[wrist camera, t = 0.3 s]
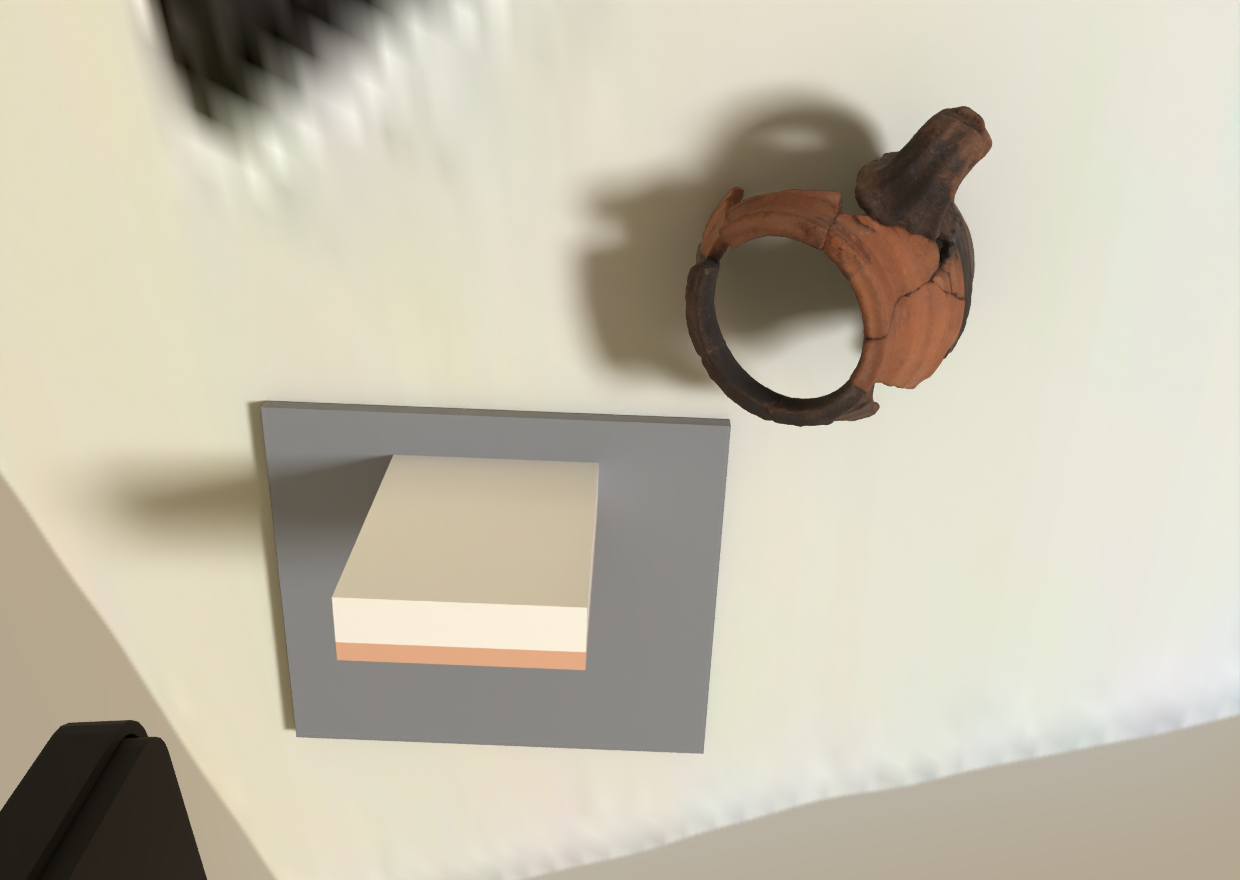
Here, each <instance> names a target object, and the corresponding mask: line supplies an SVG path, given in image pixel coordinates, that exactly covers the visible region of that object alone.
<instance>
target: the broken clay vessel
mask: <svg viewBox="0 0 1240 880" xmlns="http://www.w3.org/2000/svg"><path fill="white" fill-rule="evenodd" d="M991 147H992V140H991V137H990V135H989V133H988V132H987V130H986V128H985V123H984V120H983V118H982V117H981V116H980V115H979V114H977V113H976V112H974V111H973V110H972V109H970V108H969V107H966V106H961V107H957V108H951V109H949V108H948V109H944V110H941V111H940V112H938V113H937V114H936V115H934V116H933V117H931V118H930V119H929V120H928V121H927V122H926V123H925V124H924V125H923V126H922V127H921V128H920V129H919V130H918V132H917V133H916V134H915V135H914V136H913V137H912V139H911V140H910V141H909V142H908V143H907V144H906V145H905V146H904V147H903V148H902V149H901V150H900V151H899V152H890V153H885V154H884V155H883V157H882V158H881V159H880V161H878V160H874V161H872V162H871V163H870V164H869V165H866V166H863V167H862V168H861V169H860V171H859V173H858V175H857V184H856V187H855V197H856V200H857V202H858V204H859V206H860V208H861V209H862V210H864V211H865V212H866V215H860V214H858V215H850V214H845V213H842V212H841V208H842V207H841V204H842V194H841V193H838V192H834V191H821V190H807V191H805V190H795V189H792V190H786V191H781V192H774V193H770V194H762V195H756V196H754V197H751V198H748V199H746V200H744V201H742V202H740V201H741V200H742V197H743V193H744V190H743V189H742V188H740V187H735V188H733V189H732V190H730V191H729V192H728V194H727V195H726V196H725V198H724V199H723V200H722V202H721V203H720V204H719V206H718V207H717V209H716V210H715V212H714V213H713V215H712V216H711V218H710V220H709V222H708V223H707V225H706V228H705V230H704V233H703V238H702V242H701V243H700V244H699V246H698V250H697V257H696V265H695V266H693V267H692V268H691V269H690V271H689V274H688V279H687V286H686V295H685V298H686V319H687V326H688V330H689V335H690V337H691V340H692V342H693V345H694V347H695V350H696V352H697V354H698V355H699V356H701V359H702V364H703V366H704V367H705V369H706V370H707V372H708V374H709V376H710V378H711V379H712V380H713V381H714V382H715V383H716V384H717V385H718V386H719V387H720V388H721V390H722V391H723V392H724V393H725V394H726V395H727V397H729V398H730V399H731V400H732V401H734V402H735V403H737V404H738V405H739V406H741V407H742V408H743V409H745V410H746V411H748V412H750V413H751V414H754V415H757V416H758V417H760V418H762V419H764V420H769V421H770V420H773V421H774V422H776V423H780V424H787V425H795V426H799V427H802V426H816V425H829V424H831V423H832V422H834V421H845V420H847V421H856V420H859V419H863V418H867V417H870V416H872V415H874V414H875V413H876V412H877V411H878V409H879V407H880V406H879V404H878V403H877V402H873V389H874V384H875V383H877V382H878V383H883V384H885V385H887V386H896V387H898V388H906V389H914V388H915V387H916V386H917V385H918V384H919V383H920V382H922V381H923V380H925V379H927V378H929V377H930V376H931V375H932V374H933V373H934V372H935V370H936V369H937V368H938V366H939V365H940V364H941V362H942V360H943V359H944V358H946V357H947V355H948V354H949V353H950V352H952V350H953V349H954V347H955V346H956V344H957V342H958V340H959V338H960V336H961V334H962V333H963V331H964V328H965V325H966V320H967V317H968V315H969V310H970V305H971V294H972V282H973V278H974V249H973V243H972V239H971V234H970V231H969V229H968V226H967V224H966V222H965V221H964V218H963V216H962V215H961V213H960V211H959V210H958V208H957V206H956V205H955V203H954V197H955V194H956V191H957V189H958V187H959V185H960V184H961V182H962V180H963V179H964V178H965V176H966V175H967V174H968V173H969V172H970V170H971V169H972V168H973V167H974V166H975V165H976V164H977V163H978V162H979V161H980V160H981V159H982V158H983V157H984V156H985V155H986V154H987V153H988V152H989V150H990V149H991ZM764 236H779V237H787V238H791V239H795V240H798V241H801V242H803V243H805V244H808V245H810V246H812V247H814V248H816V249H819V250H822V251H823V252H824V253H825V254H826V255H827V256H828V257H829V258H830V259H831V260H832V261H833V262H834V263H835V264H836V265H837V266H838V267H839V269H840V270H841V271H842V273H843V274H844V275H845V277H846V278H847V280H848V281H849V283H850V285H851V287H852V289H853V291H854V292H855V295H856V297H857V300H858V302H859V305H860V309H861V312H862V317H863V323H864V342H863V348H862V353H861V357H860V360H859V362H858V365H857V367H856V368H855V370H854V372H853V373H852V375H851V377H850V379H849V380H848V381H847V382H846V383H845V384H844V385H843V386H842V387H841V388H839V389H838V390H836V391H835V392H833V393H831V394H828V395H825V396H822V397H818V398H809V399H800V398H790V397H787V396H784V395H781V394H778V393H776V392H774V391H772V390H770V389H769V388H767V387H764V386H763V385H761V384H760V383H759V382H757V381H756V380H754V379H753V378H752V377H751V376H750V375H749V374H748V373H747V372H746V371H745V370H744V369H743V368H742V367H741V366H740V365H739V364H738V362H737V361H736V360H735V358H734V357H733V355H732V353H731V351H730V350H729V349H728V347H727V345H726V342H725V340H724V338H723V336H722V334H721V331H720V328H719V325H718V322H717V318H716V313H715V305H714V294H715V285H716V279H717V275H718V272H719V268H720V259H721V257H722V256H723V254H724V253H725V251H726V250H727V248H728V247H737V246H739V245H741V244H743V243H745V242H747V241H749V240H752V239H755V238H759V237H764ZM937 238H940V239H941V241H942V246H943V247H942V248H941V251H940V254H939V248H938V246H937V243H936V239H937Z"/></svg>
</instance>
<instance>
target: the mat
mask: <svg viewBox="0 0 1240 880" xmlns="http://www.w3.org/2000/svg"><path fill="white" fill-rule="evenodd" d="M261 414H262V423H263V432H264V441H265V451H266V460H267V469H268V478H269V488H270V497H271V506H272V515H273V524H274V534H275V543H276V552H277V561H278V571H279V580H280V589H281V598H282V608H283V617H284V626H285V635H286V645H287V654H288V663H289V672H290V682H291V691H292V700H293V709H294V718H295V728H296V737H308V738H333V739H357V740H382V741H406V742H431V743H455V744H480V745H504V746H529V747H553V748H578V749H602V750H627V751H652V752H676V753H701V754H703V751H704V739H705V727H706V715H707V703H708V691H709V679H710V667H711V655H712V643H713V631H714V619H715V608H716V596H717V584H718V572H719V560H720V548H721V536H722V524H723V512H724V500H725V488H726V476H727V464H728V452H729V440H730V428H731V425H730V420H729V419H704V418H679V417H654V416H629V415H604V414H579V413H554V412H529V411H504V410H479V409H454V408H428V407H403V406H378V405H353V404H328V403H303V402H278V401H265V402H264V404H263V405H262V406H261ZM393 455H416V456H441V457H466V458H491V459H516V460H541V461H566V462H591V463H599V472H598V506H597V525H596V538H595V552H594V565H593V578H592V591H591V604H590V617H589V630H588V643H587V657H586V670H569V669H545V668H520V667H495V666H471V665H446V664H421V663H397V662H372V661H347V660H337V652H336V641H335V629H334V617H333V606H332V596H333V593H334V591H335V589H336V586H337V584H338V582H339V580H340V577H341V575H342V573H343V570H344V568H345V566H346V563H347V561H348V559H349V556H350V554H351V552H352V549H353V547H354V545H355V543H356V540H357V538H358V536H359V533H360V531H361V529H362V526H363V524H364V522H365V519H366V517H367V515H368V512H369V510H370V508H371V506H372V503H373V501H374V499H375V496H376V494H377V492H378V489H379V487H380V485H381V482H382V480H383V478H384V475H385V473H386V471H387V469H388V466H389V464H390V462H391V459H392V457H393Z"/></svg>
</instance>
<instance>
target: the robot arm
mask: <svg viewBox="0 0 1240 880" xmlns="http://www.w3.org/2000/svg"><path fill="white" fill-rule="evenodd" d="M0 880H207V878H206V875H205V871H204V868H203V864H202V861H201V858H200V855H199V852H198V848H197V845H196V841H195V838H194V835H193V831H192V828H191V825H190V822H189V818H188V815H187V811H186V808H185V805H184V801H183V798H182V795H181V791H180V788H179V785H178V781H177V778H176V775H175V772H174V768H173V765H172V761H171V758H170V755H169V752H168V749H167V747H166V744H165V742H164V741H163V740H162V739H161V738H158V737H148V736H147V733H146V731H145V729H144V728H143V726H142V725H141V724H140V723H139V722H137V721H133V720H124V721H101V722H78V723H67V724H65V725H63V726H61V727H60V728H59V729H58V730H57V731H56V732H55V733H54V734H53V735H52V737H51V738H50V740H49V741H48V742H47V744H46V745H45V747H44V748H43V750H42V752H41V753H40V754H39V756H38V757H37V759H36V760H35V761H34V763H33V764H32V766H31V767H30V769H29V770H28V772H27V773H26V775H25V776H24V778H23V779H22V780H21V782H20V784H19V785H18V786H17V788H16V789H15V791H14V792H13V794H12V795H11V797H10V798H9V799H8V801H7V803H6V804H5V805H4V807H3V808H2V810H1V811H0Z"/></svg>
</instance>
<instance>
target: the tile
mask: <svg viewBox="0 0 1240 880" xmlns="http://www.w3.org/2000/svg"><path fill="white" fill-rule="evenodd" d="M598 472H599V463H591V462H566V461H541V460H516V459H491V458H466V457H441V456H416V455H393V457H392V459H391V462H390V464H389V466H388V469H387V471H386V473H385V475H384V478H383V480H382V482H381V485H380V487H379V489H378V492H377V494H376V496H375V499H374V501H373V503H372V506H371V508H370V510H369V512H368V515H367V517H366V519H365V522H364V524H363V526H362V529H361V531H360V533H359V536H358V538H357V540H356V543H355V545H354V547H353V549H352V552H351V554H350V556H349V559H348V561H347V563H346V566H345V568H344V570H343V573H342V575H341V577H340V580H339V582H338V584H337V586H336V589H335V591H334V593H333V596H332V606H333V617H334V629H335V641H336V652H337V660H347V661H372V662H397V663H421V664H446V665H471V666H495V667H520V668H545V669H569V670H586V657H587V643H588V630H589V617H590V604H591V591H592V578H593V565H594V552H595V538H596V525H597V506H598Z"/></svg>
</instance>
